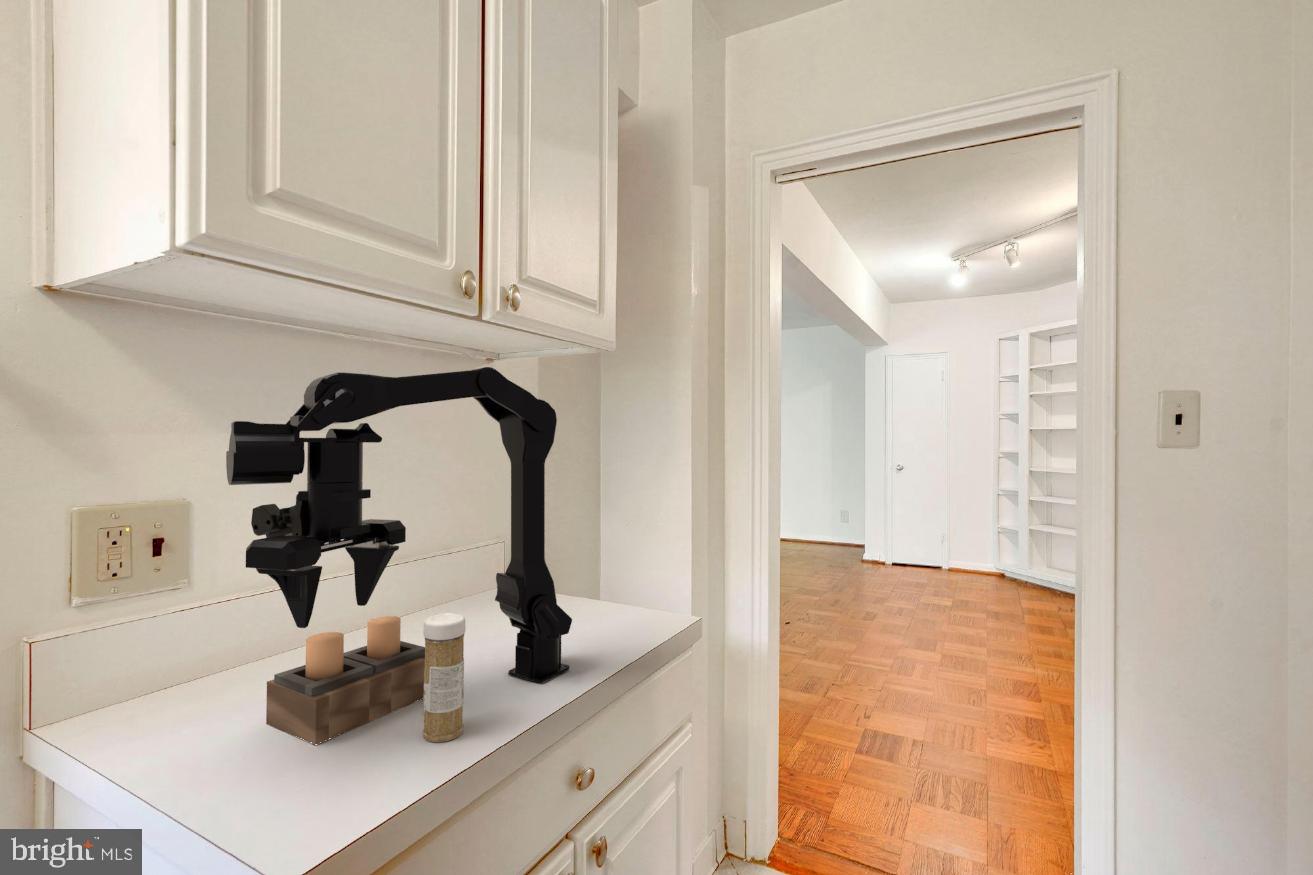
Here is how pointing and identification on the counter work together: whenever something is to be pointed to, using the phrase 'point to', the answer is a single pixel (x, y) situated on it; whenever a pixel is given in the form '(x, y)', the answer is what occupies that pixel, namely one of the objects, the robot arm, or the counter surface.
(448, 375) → the robot arm
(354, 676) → the socket block
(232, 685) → the counter surface
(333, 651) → the peg
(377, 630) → the peg
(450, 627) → the sprinkles bottle
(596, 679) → the counter surface
